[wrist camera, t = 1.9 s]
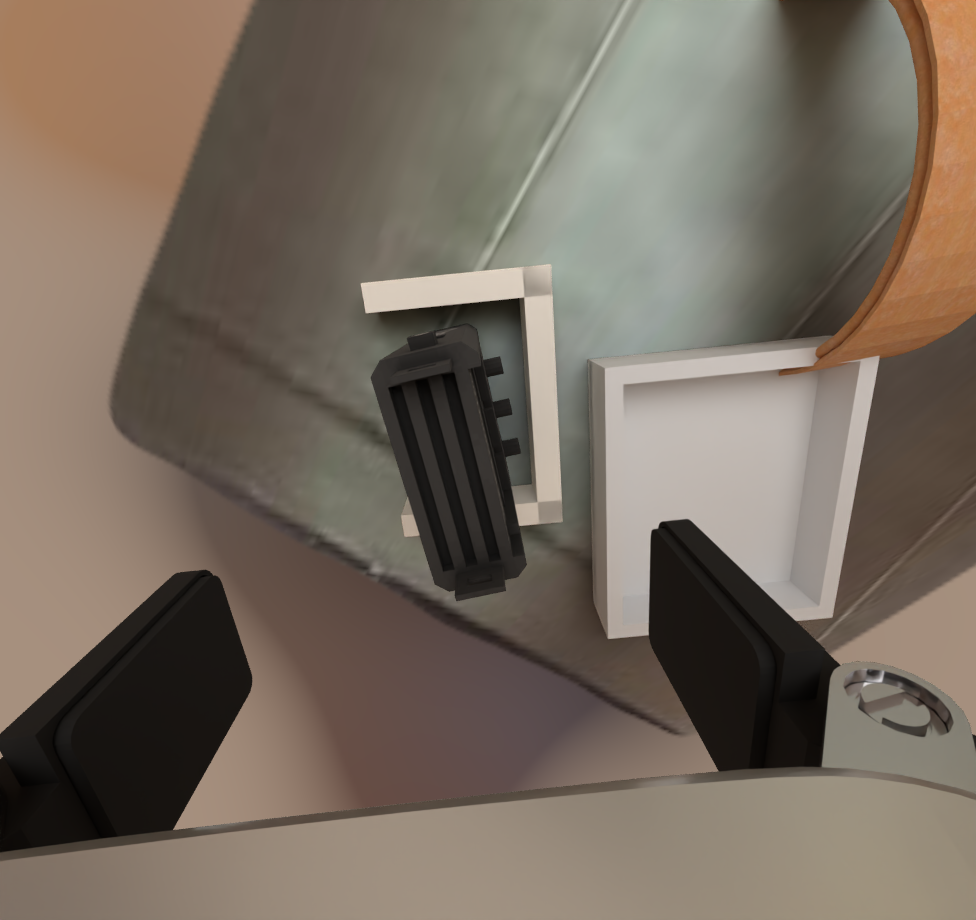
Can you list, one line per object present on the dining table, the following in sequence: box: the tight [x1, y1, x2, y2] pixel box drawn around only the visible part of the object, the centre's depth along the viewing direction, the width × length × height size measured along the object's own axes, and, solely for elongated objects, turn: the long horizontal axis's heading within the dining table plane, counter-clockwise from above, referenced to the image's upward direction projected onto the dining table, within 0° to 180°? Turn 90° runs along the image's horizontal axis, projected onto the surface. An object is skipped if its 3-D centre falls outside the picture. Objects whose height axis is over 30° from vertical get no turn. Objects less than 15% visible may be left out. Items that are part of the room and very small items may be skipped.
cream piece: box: [361, 264, 563, 537], centre depth 28 cm, size 10×15×3 cm, turn 5°
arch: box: [779, 0, 976, 376], centre depth 21 cm, size 6×20×10 cm, turn 10°
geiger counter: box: [371, 323, 527, 601], centre depth 22 cm, size 10×4×15 cm, turn 13°
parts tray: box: [588, 336, 880, 639], centre depth 30 cm, size 15×18×4 cm
